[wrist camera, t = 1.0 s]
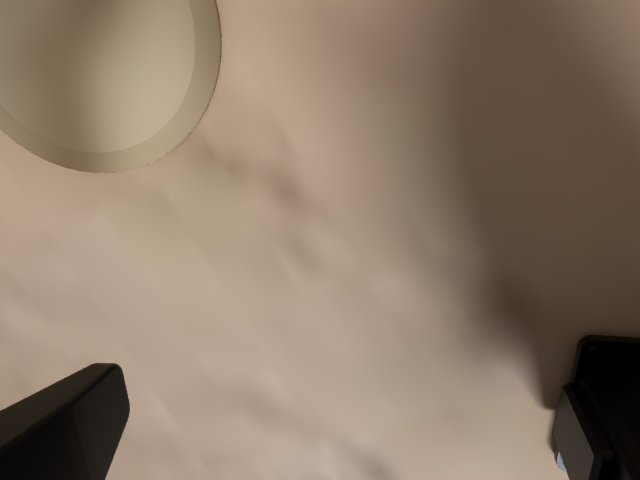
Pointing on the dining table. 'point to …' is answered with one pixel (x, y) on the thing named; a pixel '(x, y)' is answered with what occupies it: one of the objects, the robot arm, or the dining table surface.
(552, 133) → the dining table surface
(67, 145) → the coaster
